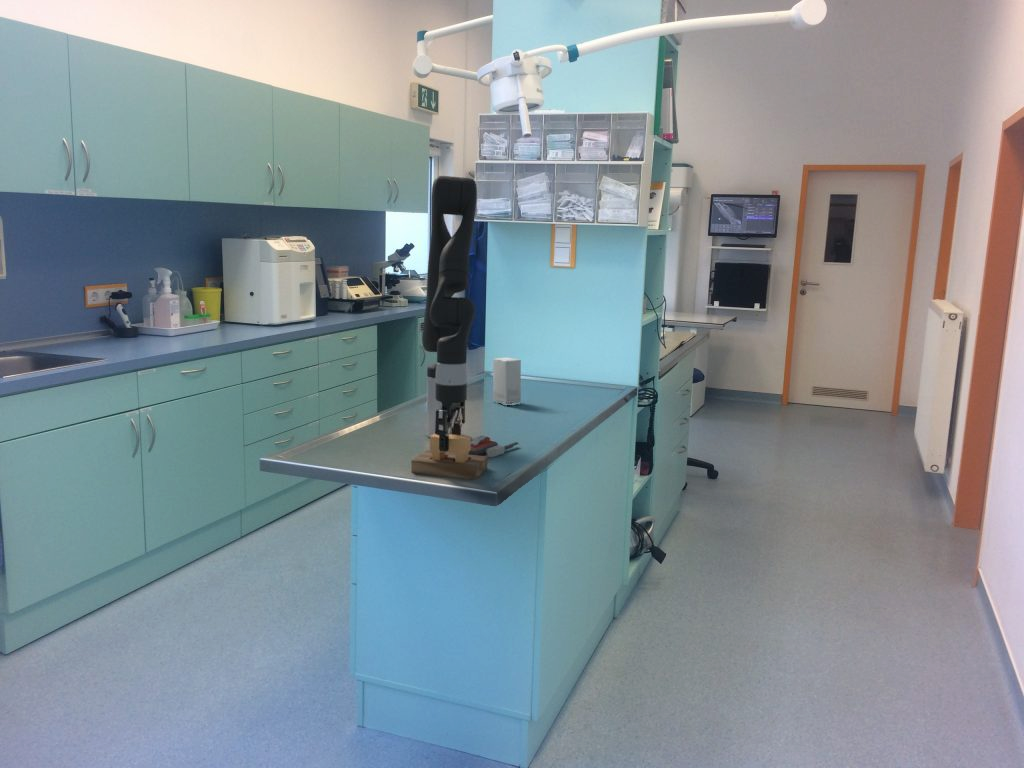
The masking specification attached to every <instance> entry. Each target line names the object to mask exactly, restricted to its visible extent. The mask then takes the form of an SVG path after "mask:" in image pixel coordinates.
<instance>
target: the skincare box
mask: <svg viewBox="0 0 1024 768" xmlns="http://www.w3.org/2000/svg"><path fill="white" fill-rule="evenodd" d="M521 363H522V360H521V359H518V358H513V357H510V356H509V357H508V356H507V357H499V358H496V357H495V358H493V359H492V373H493V374H492V377H493V378H492V380H493V381H492V382H493V383H492V386H493V389H492V391H493V393H492V395H493V398H492V399H493V400H494V401H497V402H500V403H503V404H512V403H519V402H521V401H522V400H521V399H522V398H521V397H522V396H521V395H522V393H521V391H522V389H521V387H522V386H521V385H522V384H521V383H522V382H521V381H522V378H521V376H522V375H521V374H522V371H521V369H522V366H521V365H522V364H521ZM521 403H522V402H521Z"/></svg>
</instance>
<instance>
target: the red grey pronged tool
mask: <svg viewBox="0 0 1024 768" xmlns="http://www.w3.org/2000/svg"><path fill="white" fill-rule="evenodd" d="M517 445H519V442H518V441H515V442H512V443H509V444H505V445H499V443H498V442H497V441H493V440H491V438H490V437H489V436H485V435H480V436H477V437H474V438H473V439H471V450H470V451H469V454H468V455H477V456H487V457H488V458H489V457H492V458H493V457H497V456H500V455H503V454H505V451H506V450H509V449H512V448H513V447H514V446H517Z"/></svg>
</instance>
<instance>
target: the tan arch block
mask: <svg viewBox="0 0 1024 768" xmlns="http://www.w3.org/2000/svg"><path fill="white" fill-rule="evenodd" d="M471 442H472V437H471V435H462V434H461V435H452V434H449V450H448V451H447V453H455V462H459V463H465V462H467V461H468V454H469V451H470V450H471ZM429 450H430V451H432V460H442V459H444V458H445V452H444V451H440V450H439V436H438V435H436V434H433V435H432V436H430V437H429Z"/></svg>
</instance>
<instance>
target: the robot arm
mask: <svg viewBox="0 0 1024 768" xmlns="http://www.w3.org/2000/svg"><path fill="white" fill-rule="evenodd" d="M477 199H478V188H477V184H476V181H475V180H474V178H469V177H460V176H459V177H458V176H452V175H451V176H450V175H449V176H448V175H438V176H436V177H435V178H434V179H433V183H432V188H431V200H430V202H431V204H430V205H431V209H430V210H431V211H430V214H431V215H430V218H431V220H430V225H431V226H430V231H431V232H430V243H429V251H428V252H429V253H428V262H427V272H426V273H427V276H426V277H427V278H426V282H427V283H426V303H425V311H424V316H423V323H422V333H421V339H422V340H421V342H422V347H423V349H424V351H426V352H429V353H436V362H434V363H431V364H429V365H428V366H427V367H426V369H427V370H426V436H427V437H428V438H430V436H432V435H433V434H436V435H438V436H439V450H440V451H444V452H447V451H448V450H449V434H452V435H462V428H463V425H464V424H465V423H466V400H467V399H468V398H467V397H468V396H467V395H468V394H467V393H468V366H467V354H468V353H467V352H468V351H467V350H468V342H469V341H468V339H469V335H470V331H471V329H472V325H473V322H474V319H475V314H476V306H475V304H474V301H473V300H472V299H470V298H469V297H461V296H460V297H458V296H454V295H455V294H458V293H461V292H464V291H465V290H466V289H468V286H469V267H470V266H469V264H470V263H469V262H470V261H469V260H470V250H471V244H472V238H473V233H474V226H475V218H476V211H477V209H476V208H477ZM444 215H449V216H461V217H462V218H461V222H460V224H459V226H458V228H457V230H456V231H455V232H454V234H453V235H452V236H451V233H450V231H449V229H448V227H447V224H446V221H445V220H446V219H445V216H444Z"/></svg>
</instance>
